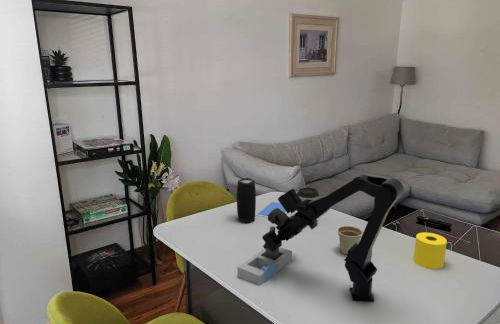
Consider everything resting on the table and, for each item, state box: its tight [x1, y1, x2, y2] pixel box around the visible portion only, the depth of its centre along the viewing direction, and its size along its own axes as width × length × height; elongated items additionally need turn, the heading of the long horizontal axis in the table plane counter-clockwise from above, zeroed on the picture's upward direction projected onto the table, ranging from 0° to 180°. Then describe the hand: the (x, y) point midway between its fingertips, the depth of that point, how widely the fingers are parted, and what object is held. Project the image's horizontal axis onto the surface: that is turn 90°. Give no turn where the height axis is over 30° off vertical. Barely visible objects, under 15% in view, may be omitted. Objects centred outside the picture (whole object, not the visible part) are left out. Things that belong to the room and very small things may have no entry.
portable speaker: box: [236, 177, 257, 224], centre depth 174 cm, size 9×9×20 cm
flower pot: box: [336, 225, 364, 255], centre depth 145 cm, size 9×9×9 cm
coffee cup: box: [296, 187, 320, 201], centre depth 173 cm, size 10×10×15 cm
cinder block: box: [236, 246, 293, 286], centre depth 134 cm, size 10×21×4 cm, turn 144°
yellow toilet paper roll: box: [413, 231, 448, 270], centre depth 137 cm, size 10×10×9 cm
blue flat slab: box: [255, 201, 288, 219], centre depth 187 cm, size 19×13×1 cm, turn 153°
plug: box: [266, 226, 279, 260], centre depth 136 cm, size 5×5×14 cm
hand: (269, 244), depth 137 cm, fingers open, 6 cm apart
